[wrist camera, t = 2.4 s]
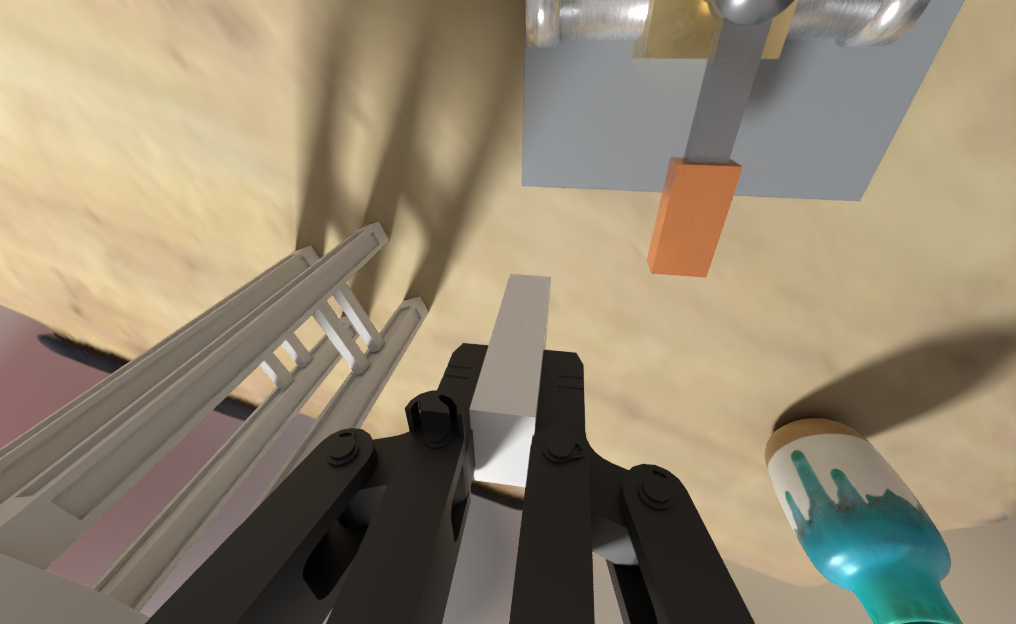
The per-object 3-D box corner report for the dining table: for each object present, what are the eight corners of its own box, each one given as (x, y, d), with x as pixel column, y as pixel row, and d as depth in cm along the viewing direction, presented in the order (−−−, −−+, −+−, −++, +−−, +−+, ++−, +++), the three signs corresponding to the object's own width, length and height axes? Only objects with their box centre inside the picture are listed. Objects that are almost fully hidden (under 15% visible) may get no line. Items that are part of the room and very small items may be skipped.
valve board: (1069, -263, 18) (1118, -295, 17) (844, 193, 31) (859, 201, 29) (534, -216, 22) (531, -238, 20) (524, 179, 34) (521, 185, 32)
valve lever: (811, -82, 16) (836, -97, 14) (701, 264, 24) (709, 277, 23) (719, -79, 16) (733, -93, 15) (643, 260, 25) (648, 273, 23)
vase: (746, 411, 45) (838, 603, 29) (855, 393, 41) (1030, 602, 25) (757, 466, 49) (841, 657, 34) (856, 454, 46) (1003, 662, 30)
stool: (346, 347, 49) (13, 759, 20) (269, 238, 41) (-433, 644, 13) (452, 322, 44) (212, 820, 15) (385, 195, 37) (-323, 691, 8)
